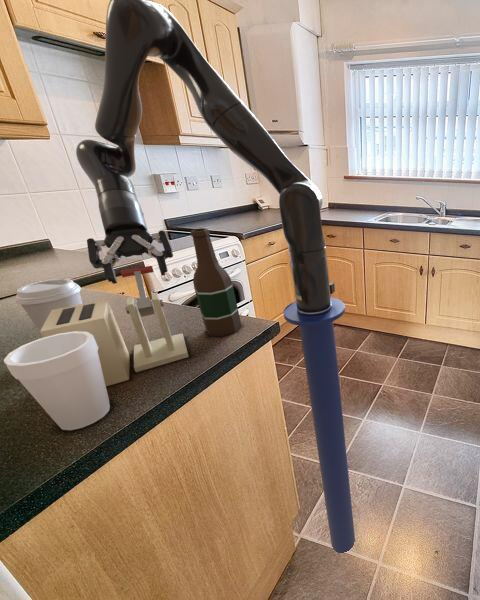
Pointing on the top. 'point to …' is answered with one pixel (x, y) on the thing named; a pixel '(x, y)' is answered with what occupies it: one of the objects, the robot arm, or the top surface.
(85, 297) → the top surface
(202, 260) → the beer bottle
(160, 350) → the lever bracket
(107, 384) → the toaster
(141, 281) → the lever
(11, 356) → the foam cup
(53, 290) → the coffee cup
